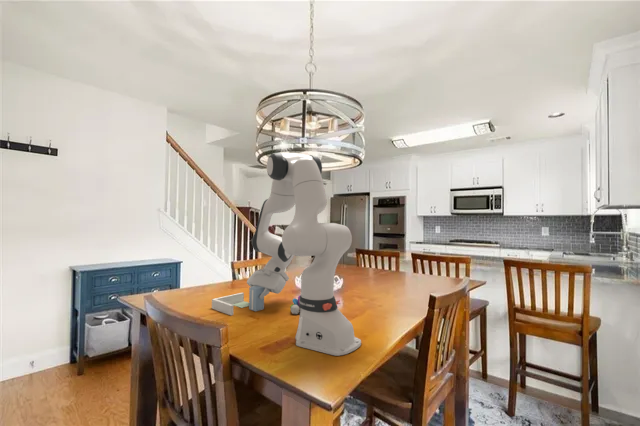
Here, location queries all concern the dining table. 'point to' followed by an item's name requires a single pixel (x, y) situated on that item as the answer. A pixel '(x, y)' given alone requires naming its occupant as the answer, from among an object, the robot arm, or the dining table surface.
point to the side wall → (223, 307)
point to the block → (256, 298)
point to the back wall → (231, 298)
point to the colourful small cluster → (295, 306)
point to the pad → (241, 304)
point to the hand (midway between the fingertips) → (255, 297)
